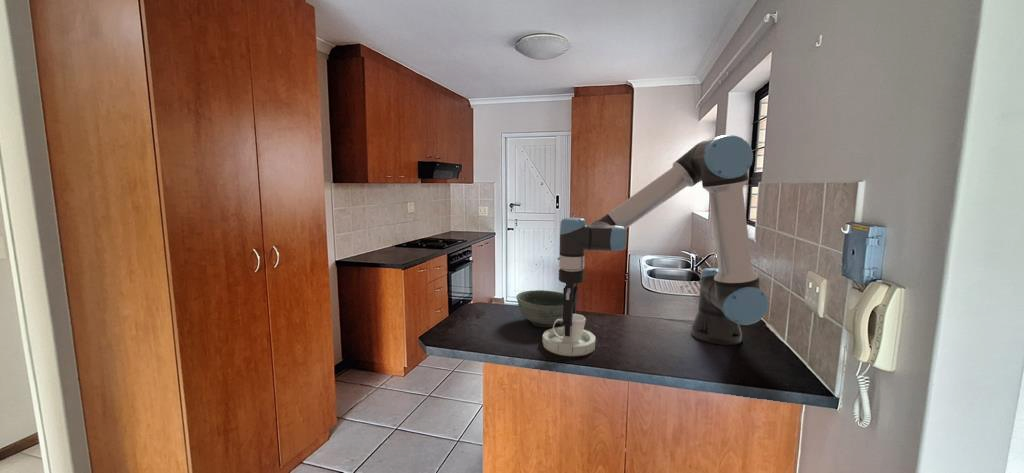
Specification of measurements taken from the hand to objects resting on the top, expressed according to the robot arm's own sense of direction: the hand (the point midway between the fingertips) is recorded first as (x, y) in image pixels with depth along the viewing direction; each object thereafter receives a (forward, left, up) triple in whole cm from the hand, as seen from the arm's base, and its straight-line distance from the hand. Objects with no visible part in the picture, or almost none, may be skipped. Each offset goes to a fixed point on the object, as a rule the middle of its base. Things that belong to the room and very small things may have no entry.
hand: (569, 340), depth 127 cm
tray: (0, 0, -1) cm, 1 cm away
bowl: (+11, -17, -2) cm, 20 cm away
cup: (0, 0, 0) cm, 1 cm away
